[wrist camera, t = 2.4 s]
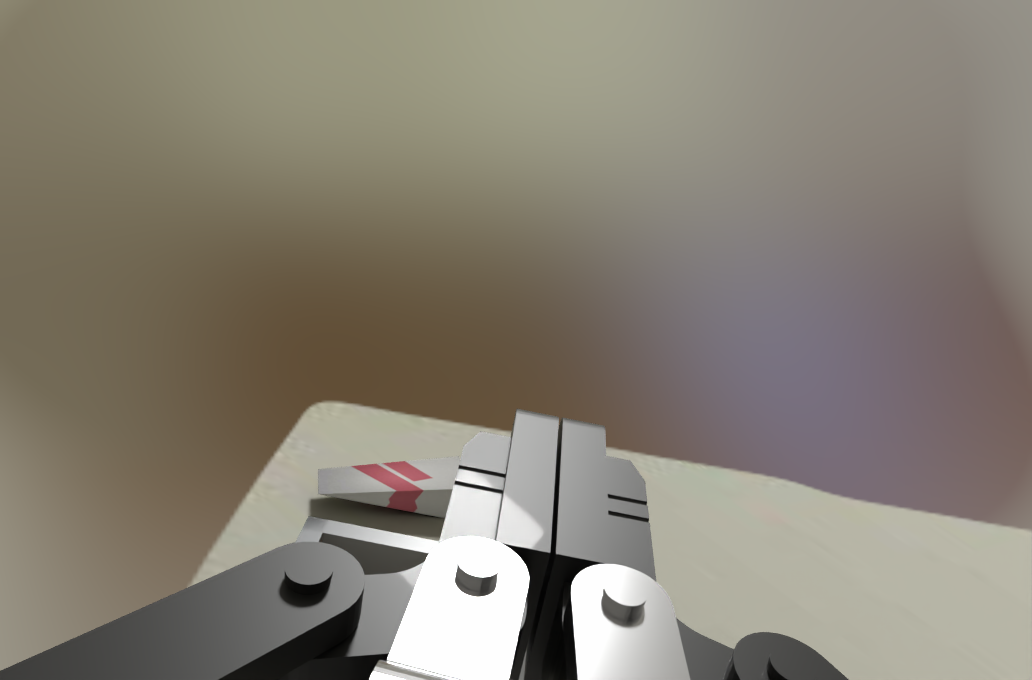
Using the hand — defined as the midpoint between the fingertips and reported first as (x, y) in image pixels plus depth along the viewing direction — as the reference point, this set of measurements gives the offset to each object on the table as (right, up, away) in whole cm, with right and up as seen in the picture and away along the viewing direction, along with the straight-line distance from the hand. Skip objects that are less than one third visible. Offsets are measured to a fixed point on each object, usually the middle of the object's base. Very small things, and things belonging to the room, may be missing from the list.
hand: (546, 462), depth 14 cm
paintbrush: (-5, -10, +44) cm, 46 cm away
